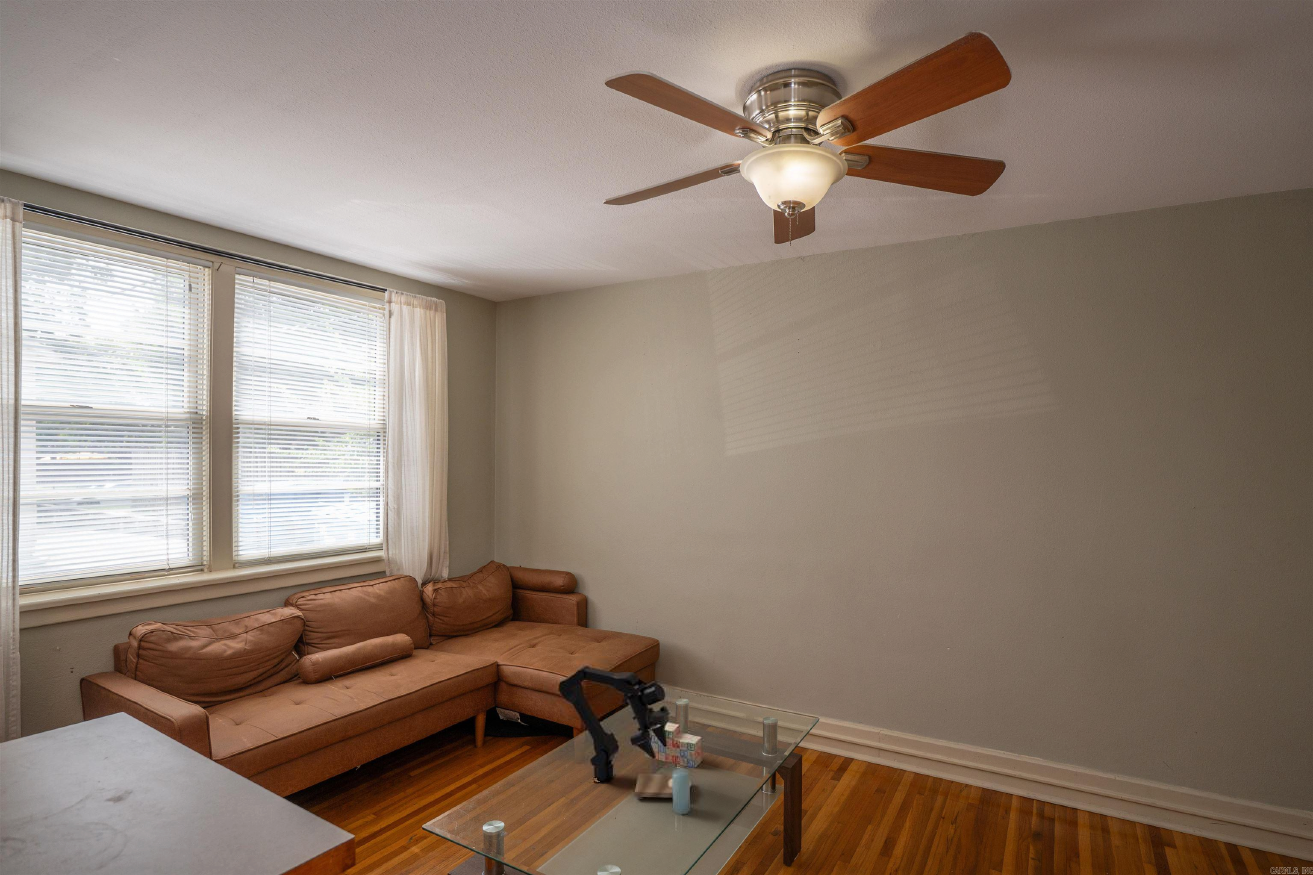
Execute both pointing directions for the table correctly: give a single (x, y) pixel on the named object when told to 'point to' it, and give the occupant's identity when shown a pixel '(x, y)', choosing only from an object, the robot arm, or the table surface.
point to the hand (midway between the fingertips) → (660, 752)
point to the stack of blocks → (677, 747)
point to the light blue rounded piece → (681, 791)
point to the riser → (654, 786)
